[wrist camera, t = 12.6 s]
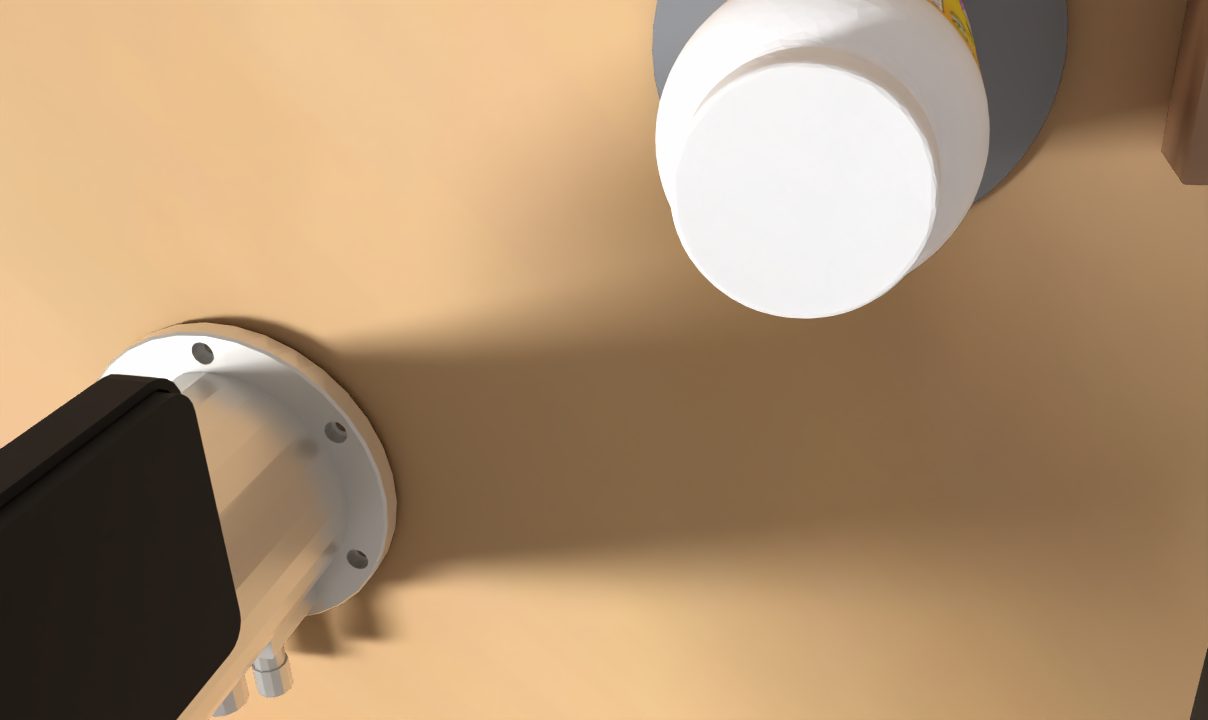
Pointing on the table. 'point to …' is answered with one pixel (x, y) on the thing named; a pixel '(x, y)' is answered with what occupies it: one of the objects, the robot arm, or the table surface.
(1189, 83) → the holder
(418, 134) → the table surface
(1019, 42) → the mat
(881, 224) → the supplement bottle
